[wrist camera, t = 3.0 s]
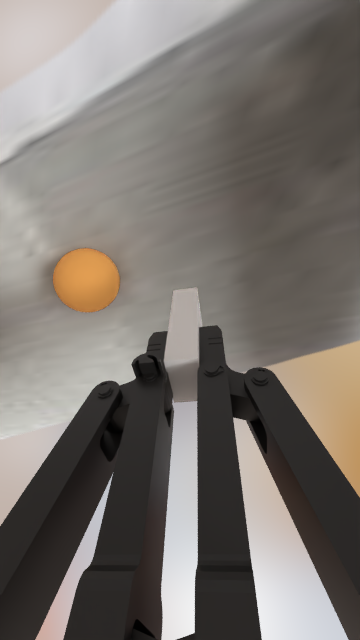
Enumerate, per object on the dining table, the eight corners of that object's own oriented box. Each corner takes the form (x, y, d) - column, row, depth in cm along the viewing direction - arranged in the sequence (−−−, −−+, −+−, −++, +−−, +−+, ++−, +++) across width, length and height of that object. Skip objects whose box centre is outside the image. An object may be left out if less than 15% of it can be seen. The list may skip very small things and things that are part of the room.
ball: (116, 235, 25) (97, 259, 20) (132, 290, 28) (119, 321, 23) (58, 243, 26) (28, 268, 21) (80, 296, 29) (57, 327, 24)
